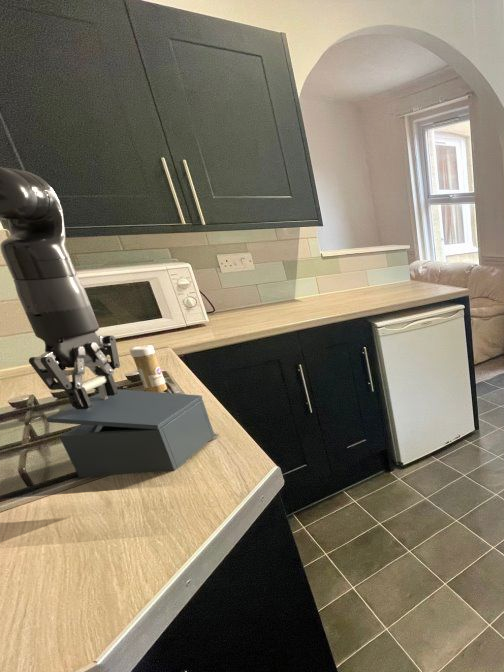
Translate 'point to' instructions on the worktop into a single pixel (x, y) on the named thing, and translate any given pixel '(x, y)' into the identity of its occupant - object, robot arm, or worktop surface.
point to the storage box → (138, 445)
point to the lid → (126, 408)
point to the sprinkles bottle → (148, 368)
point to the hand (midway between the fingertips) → (97, 401)
